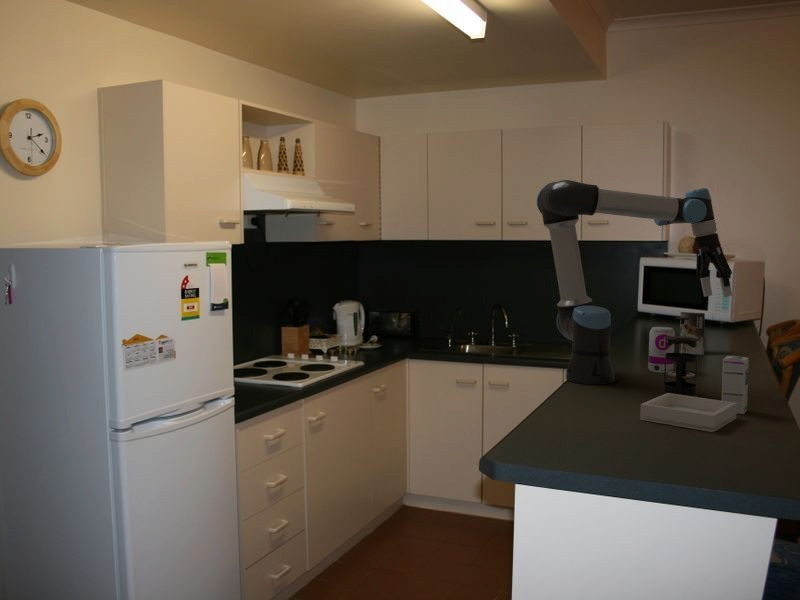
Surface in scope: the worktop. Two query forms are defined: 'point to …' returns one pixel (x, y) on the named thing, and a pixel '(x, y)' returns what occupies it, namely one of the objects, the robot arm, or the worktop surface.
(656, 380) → the worktop surface
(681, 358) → the french press
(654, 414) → the bin
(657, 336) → the supplement can
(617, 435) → the worktop surface
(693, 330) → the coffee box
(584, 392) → the worktop surface
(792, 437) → the worktop surface
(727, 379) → the syrup box
